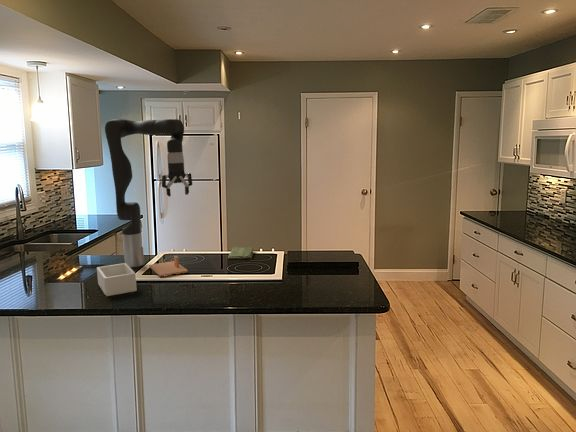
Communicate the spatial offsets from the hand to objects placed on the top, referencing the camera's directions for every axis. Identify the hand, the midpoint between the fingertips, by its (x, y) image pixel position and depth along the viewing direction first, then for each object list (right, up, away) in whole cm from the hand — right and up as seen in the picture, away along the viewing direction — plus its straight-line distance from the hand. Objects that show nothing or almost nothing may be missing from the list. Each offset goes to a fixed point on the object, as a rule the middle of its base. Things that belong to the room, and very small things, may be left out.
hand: (178, 195), depth 237 cm
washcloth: (+27, -32, +35) cm, 55 cm away
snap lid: (-7, -38, +9) cm, 39 cm away
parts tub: (-24, -42, -15) cm, 51 cm away
